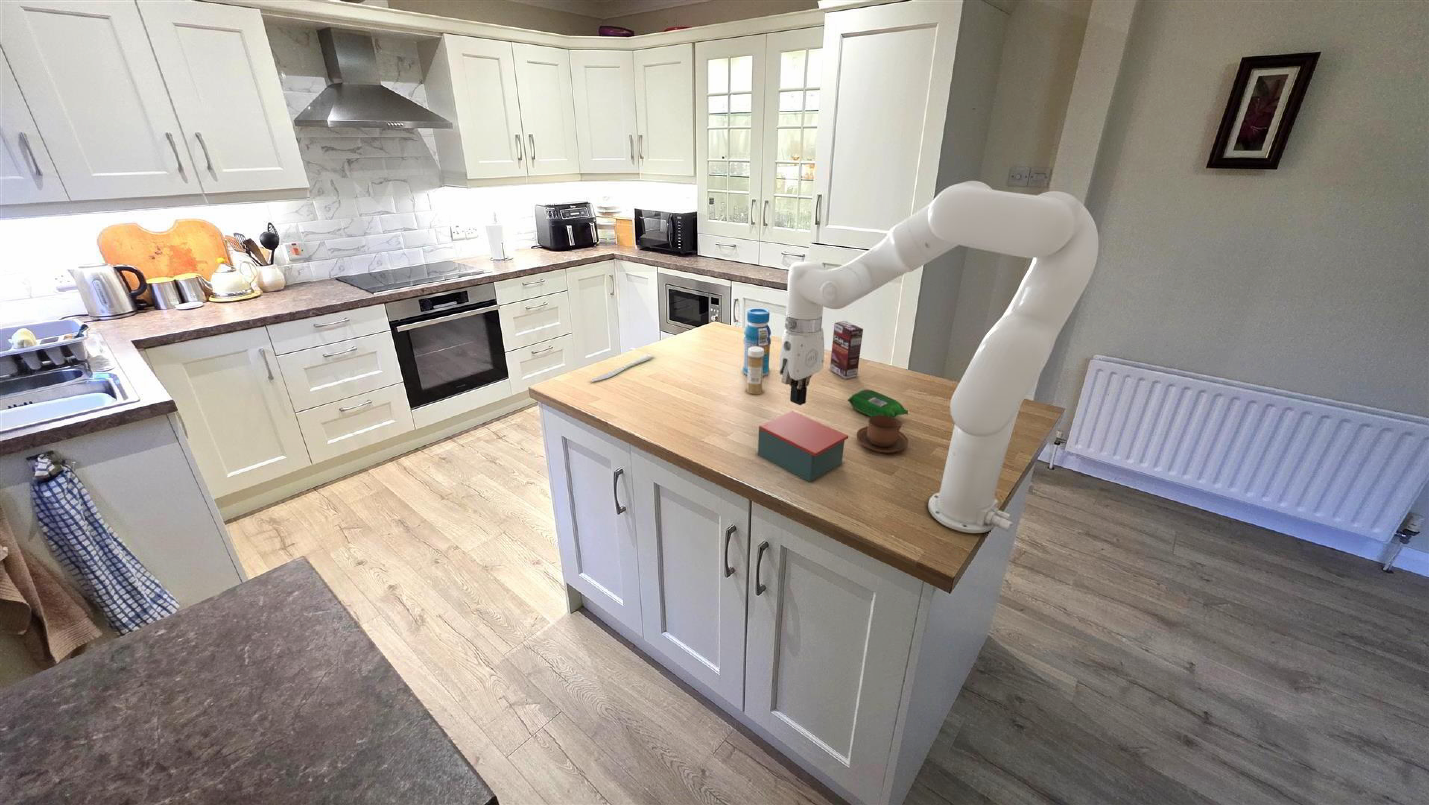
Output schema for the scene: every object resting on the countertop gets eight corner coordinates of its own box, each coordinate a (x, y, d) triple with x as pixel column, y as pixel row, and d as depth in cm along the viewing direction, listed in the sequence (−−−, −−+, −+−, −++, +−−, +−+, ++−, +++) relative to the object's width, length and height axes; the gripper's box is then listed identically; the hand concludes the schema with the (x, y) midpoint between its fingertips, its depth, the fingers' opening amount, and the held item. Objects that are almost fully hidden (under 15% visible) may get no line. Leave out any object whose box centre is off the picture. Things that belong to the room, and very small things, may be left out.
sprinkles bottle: (764, 390, 162) (766, 347, 156) (759, 396, 158) (761, 352, 152) (749, 387, 164) (751, 344, 158) (744, 393, 160) (745, 349, 154)
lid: (848, 438, 122) (848, 435, 122) (815, 456, 115) (815, 453, 115) (791, 413, 133) (792, 410, 133) (758, 428, 126) (758, 425, 126)
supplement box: (828, 369, 176) (833, 322, 169) (841, 367, 178) (846, 320, 171) (845, 379, 169) (851, 330, 162) (857, 377, 171) (864, 328, 164)
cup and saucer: (868, 427, 141) (871, 406, 138) (914, 442, 134) (918, 420, 132) (847, 445, 133) (850, 423, 130) (894, 462, 126) (898, 439, 123)
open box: (841, 463, 126) (845, 437, 123) (809, 482, 119) (812, 455, 116) (790, 438, 136) (791, 413, 133) (757, 454, 129) (758, 428, 126)
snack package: (890, 429, 140) (893, 411, 138) (844, 407, 152) (846, 389, 150) (907, 422, 144) (911, 404, 142) (861, 400, 156) (864, 384, 153)
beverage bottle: (739, 375, 172) (741, 313, 163) (746, 366, 179) (748, 306, 170) (766, 378, 170) (769, 316, 161) (771, 369, 177) (775, 308, 168)
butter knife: (656, 356, 185) (649, 354, 186) (594, 382, 165) (588, 379, 167) (656, 358, 185) (649, 355, 186) (594, 384, 166) (588, 381, 167)
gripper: (793, 335, 108) (788, 418, 116) (839, 320, 117) (831, 398, 125) (765, 326, 113) (762, 406, 121) (812, 312, 122) (806, 388, 130)
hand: (797, 402), depth 123 cm, fingers closed
